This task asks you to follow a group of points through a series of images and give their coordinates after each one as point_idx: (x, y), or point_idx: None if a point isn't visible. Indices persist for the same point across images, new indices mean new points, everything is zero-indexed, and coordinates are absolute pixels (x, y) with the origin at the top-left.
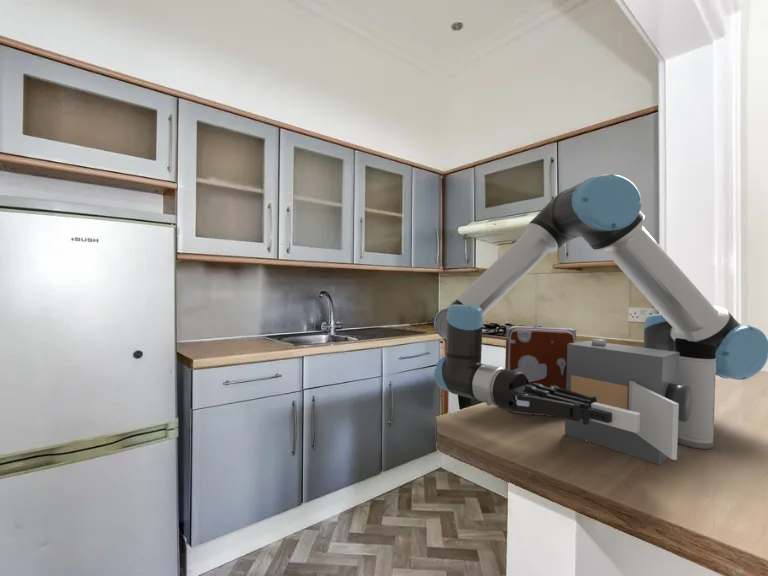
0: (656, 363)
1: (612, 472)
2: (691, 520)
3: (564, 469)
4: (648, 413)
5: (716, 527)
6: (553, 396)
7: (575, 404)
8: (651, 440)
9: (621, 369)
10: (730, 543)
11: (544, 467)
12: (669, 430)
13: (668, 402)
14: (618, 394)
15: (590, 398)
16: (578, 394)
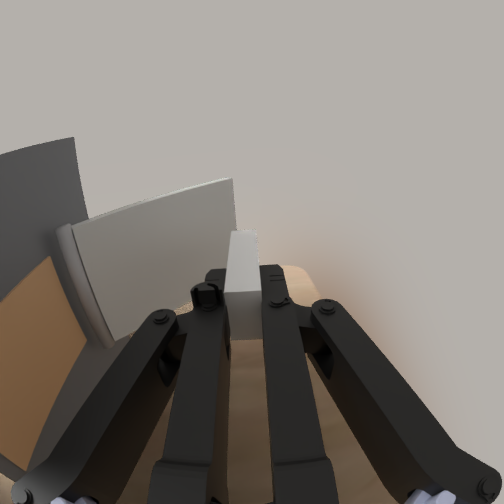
0: (69, 156)
1: (239, 387)
2: (295, 294)
3: (324, 441)
4: (165, 251)
5: (286, 282)
6: (302, 426)
7: (334, 304)
8: (188, 294)
9: (19, 216)
10: (306, 273)
11: (362, 464)
12: (229, 233)
13: (219, 183)
14: (48, 298)
15: (164, 323)
16: (124, 371)
